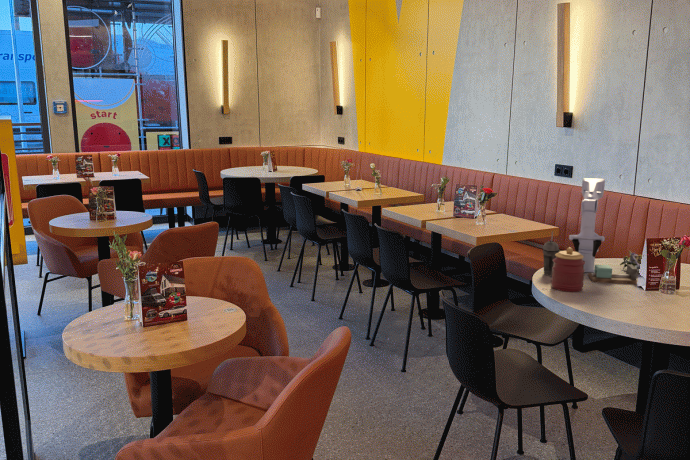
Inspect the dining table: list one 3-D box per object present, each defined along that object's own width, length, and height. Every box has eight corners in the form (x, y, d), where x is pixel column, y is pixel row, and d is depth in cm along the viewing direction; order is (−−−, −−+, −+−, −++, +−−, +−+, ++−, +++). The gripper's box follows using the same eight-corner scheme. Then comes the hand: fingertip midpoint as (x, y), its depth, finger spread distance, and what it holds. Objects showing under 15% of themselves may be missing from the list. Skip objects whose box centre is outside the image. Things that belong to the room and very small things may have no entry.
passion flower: (638, 284, 278) (641, 268, 270) (614, 276, 285) (616, 259, 276) (647, 267, 283) (650, 251, 275) (624, 260, 290) (626, 243, 281)
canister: (581, 284, 259) (584, 245, 255) (584, 293, 247) (588, 252, 243) (549, 282, 262) (552, 243, 259) (551, 291, 250) (554, 250, 246)
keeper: (597, 277, 264) (597, 267, 263) (593, 273, 270) (594, 264, 269) (611, 278, 263) (612, 268, 262) (608, 274, 269) (608, 265, 268)
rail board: (593, 282, 263) (594, 267, 262) (587, 276, 272) (589, 262, 271) (636, 284, 260) (638, 269, 259) (630, 277, 270) (631, 263, 268)
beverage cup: (539, 275, 274) (542, 232, 270) (542, 271, 280) (545, 229, 276) (556, 277, 270) (559, 233, 267) (558, 273, 277) (561, 231, 273)
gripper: (572, 227, 261) (570, 257, 263) (607, 228, 258) (604, 259, 261) (569, 224, 268) (566, 253, 270) (603, 225, 265) (600, 255, 268)
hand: (585, 256), depth 266 cm, fingers open, 6 cm apart
